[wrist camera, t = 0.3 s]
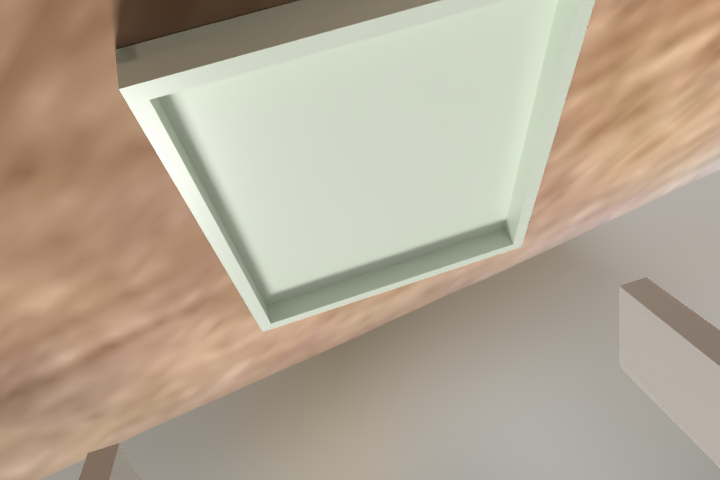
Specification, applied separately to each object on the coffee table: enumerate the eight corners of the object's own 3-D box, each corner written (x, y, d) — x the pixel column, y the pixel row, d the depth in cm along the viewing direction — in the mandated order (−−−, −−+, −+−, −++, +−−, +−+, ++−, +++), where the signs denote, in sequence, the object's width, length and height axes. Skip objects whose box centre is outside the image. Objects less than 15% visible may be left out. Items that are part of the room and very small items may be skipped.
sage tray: (115, 49, 21) (118, 89, 20) (576, -75, 23) (609, -46, 22) (255, 302, 39) (262, 331, 38) (506, 221, 41) (521, 246, 40)
